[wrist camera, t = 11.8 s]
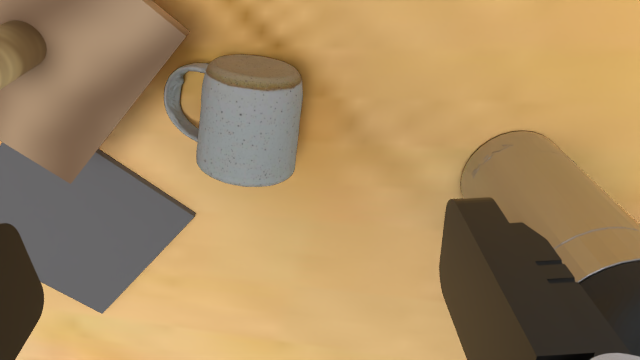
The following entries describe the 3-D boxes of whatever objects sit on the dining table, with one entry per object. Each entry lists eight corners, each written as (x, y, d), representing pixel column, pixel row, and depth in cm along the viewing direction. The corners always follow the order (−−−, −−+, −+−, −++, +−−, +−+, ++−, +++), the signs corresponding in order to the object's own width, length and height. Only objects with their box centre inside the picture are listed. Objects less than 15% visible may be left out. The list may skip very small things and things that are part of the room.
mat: (195, 213, 45) (194, 216, 44) (104, 309, 50) (102, 313, 50) (29, 104, 39) (26, 106, 38) (-54, 227, 44) (-58, 230, 44)
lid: (189, 31, 31) (163, 66, 24) (77, 175, 35) (30, 235, 29) (-33, -152, 25) (-139, -168, 19) (-130, 46, 30) (-240, 85, 24)
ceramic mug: (306, 55, 38) (306, 89, 31) (295, 149, 42) (293, 196, 35) (167, 39, 37) (137, 69, 30) (170, 136, 41) (144, 182, 34)
